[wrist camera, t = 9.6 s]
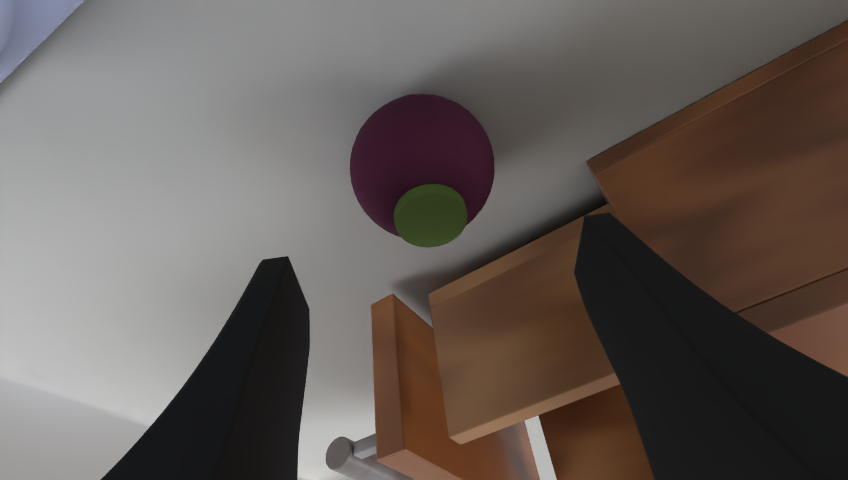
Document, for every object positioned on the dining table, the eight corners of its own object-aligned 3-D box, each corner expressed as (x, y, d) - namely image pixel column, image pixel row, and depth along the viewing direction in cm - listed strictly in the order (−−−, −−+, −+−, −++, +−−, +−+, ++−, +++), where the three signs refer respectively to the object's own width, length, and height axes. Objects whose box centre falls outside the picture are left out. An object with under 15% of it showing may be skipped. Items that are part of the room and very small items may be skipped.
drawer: (433, 436, 31) (448, 560, 26) (286, 347, 23) (269, 503, 18) (714, 325, 26) (799, 456, 21) (650, 159, 18) (764, 309, 13)
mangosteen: (322, 117, 16) (314, 210, 13) (435, 38, 15) (460, 120, 11) (399, 200, 19) (409, 295, 16) (501, 140, 18) (537, 231, 14)
